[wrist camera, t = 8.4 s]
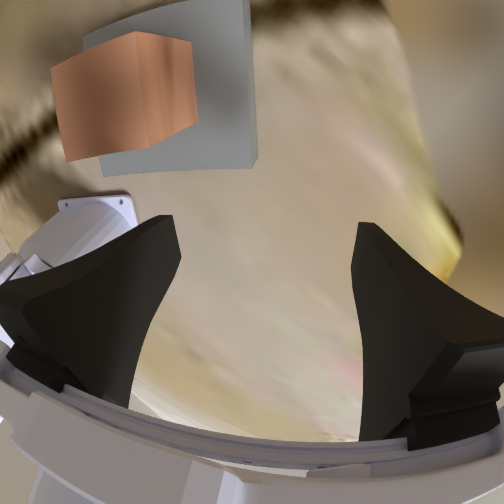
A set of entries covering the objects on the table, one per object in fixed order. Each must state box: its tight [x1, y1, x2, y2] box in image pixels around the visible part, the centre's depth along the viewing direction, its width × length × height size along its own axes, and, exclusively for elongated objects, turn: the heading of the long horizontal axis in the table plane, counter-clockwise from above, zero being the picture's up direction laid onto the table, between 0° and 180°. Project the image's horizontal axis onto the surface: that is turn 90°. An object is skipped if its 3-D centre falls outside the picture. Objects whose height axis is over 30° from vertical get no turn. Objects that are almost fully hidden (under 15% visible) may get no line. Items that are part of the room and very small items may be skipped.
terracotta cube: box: [51, 31, 199, 162], centre depth 11 cm, size 5×5×6 cm
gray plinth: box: [82, 0, 258, 177], centre depth 15 cm, size 11×11×2 cm
